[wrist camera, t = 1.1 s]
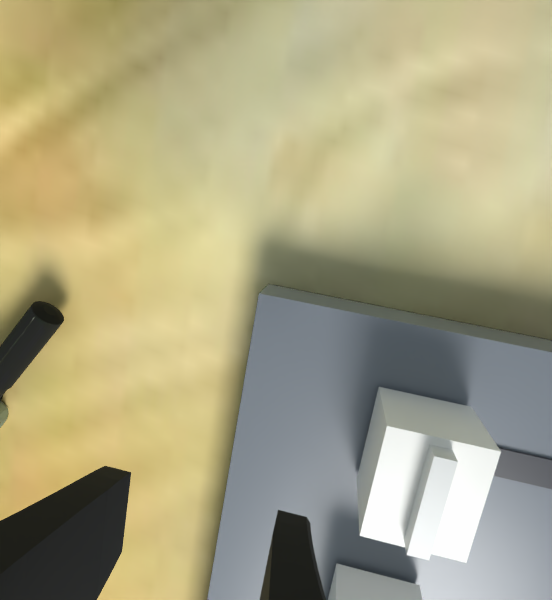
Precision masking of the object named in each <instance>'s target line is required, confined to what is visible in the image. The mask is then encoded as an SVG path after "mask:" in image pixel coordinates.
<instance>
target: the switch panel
mask: <svg viewBox="0 0 552 600" xmlns="http://www.w3.org/2000/svg"><path fill="white" fill-rule="evenodd" d="M379 387H383V388H387V389H392V390H397V391H401V392H406V393H410V394H415V395H420V396H424V397H429V398H433V399H438V400H443V401H447V402H452V403H456V404H461V405H466V406H470V407H472V409H473V410H474V412H475V413H476V415H477V416H478V418H479V419H480V421H481V422H482V424H483V425H484V427H485V428H486V430H487V431H488V433H489V434H490V436H491V437H492V439H493V440H494V442H495V443H496V445H497V446H498V448H499V449H500V451H501V454H500V457H499V460H498V463H497V466H496V470H495V473H494V476H493V479H492V482H491V486H490V489H489V492H488V495H487V498H486V502H485V505H484V508H483V511H482V514H481V518H480V521H479V524H478V527H477V530H476V533H475V537H474V540H473V543H472V546H471V549H470V553H469V556H468V559H467V562H466V563H465V562H461V561H457V560H453V559H449V558H445V557H441V556H437V555H433V554H431V556H430V559H429V560H425V559H421V558H417V557H413V556H409V555H407V554H406V549H405V547H402V546H398V545H394V544H390V543H386V542H382V541H378V540H374V539H370V538H366V537H362V536H360V533H359V515H358V496H357V476H358V471H359V467H360V463H361V459H362V455H363V450H364V446H365V442H366V438H367V434H368V430H369V425H370V421H371V417H372V413H373V409H374V404H375V400H376V396H377V392H378V388H379ZM278 510H281V511H285V512H289V513H293V514H297V515H301V516H305V517H307V518H308V520H309V522H310V523H311V535H312V542H313V548H314V553H315V558H316V562H317V567H318V571H319V575H320V579H321V583H322V586H323V590H324V593H325V597H326V600H328V597H329V593H330V588H331V584H332V580H333V576H334V572H335V567H336V563H337V564H341V565H345V566H349V567H352V568H356V569H360V570H364V571H368V572H371V573H375V574H379V575H383V576H387V577H390V578H394V579H398V580H402V581H406V582H410V583H413V584H417V585H420V590H421V595H422V600H552V340H548V339H543V338H537V337H532V336H527V335H522V334H517V333H512V332H507V331H502V330H497V329H492V328H487V327H482V326H477V325H472V324H467V323H462V322H457V321H452V320H447V319H442V318H437V317H432V316H427V315H422V314H417V313H412V312H407V311H401V310H396V309H391V308H386V307H381V306H376V305H371V304H366V303H361V302H356V301H351V300H346V299H341V298H336V297H331V296H326V295H321V294H316V293H311V292H306V291H301V290H296V289H291V288H286V287H281V286H276V285H270V284H268V285H267V286H266V287H265V288H264V289H263V290H262V291H261V292H260V293H259V296H258V302H257V308H256V314H255V320H254V326H253V332H252V338H251V344H250V350H249V356H248V361H247V367H246V373H245V379H244V385H243V391H242V397H241V403H240V409H239V415H238V421H237V427H236V433H235V439H234V444H233V450H232V456H231V462H230V468H229V474H228V480H227V486H226V492H225V498H224V504H223V510H222V516H221V521H220V527H219V533H218V539H217V545H216V551H215V557H214V563H213V569H212V575H211V581H210V587H209V593H208V599H207V600H260V595H261V590H262V585H263V580H264V575H265V570H266V565H267V560H268V555H269V550H270V545H271V540H272V535H273V530H274V526H275V521H276V517H277V512H278Z"/></svg>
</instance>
